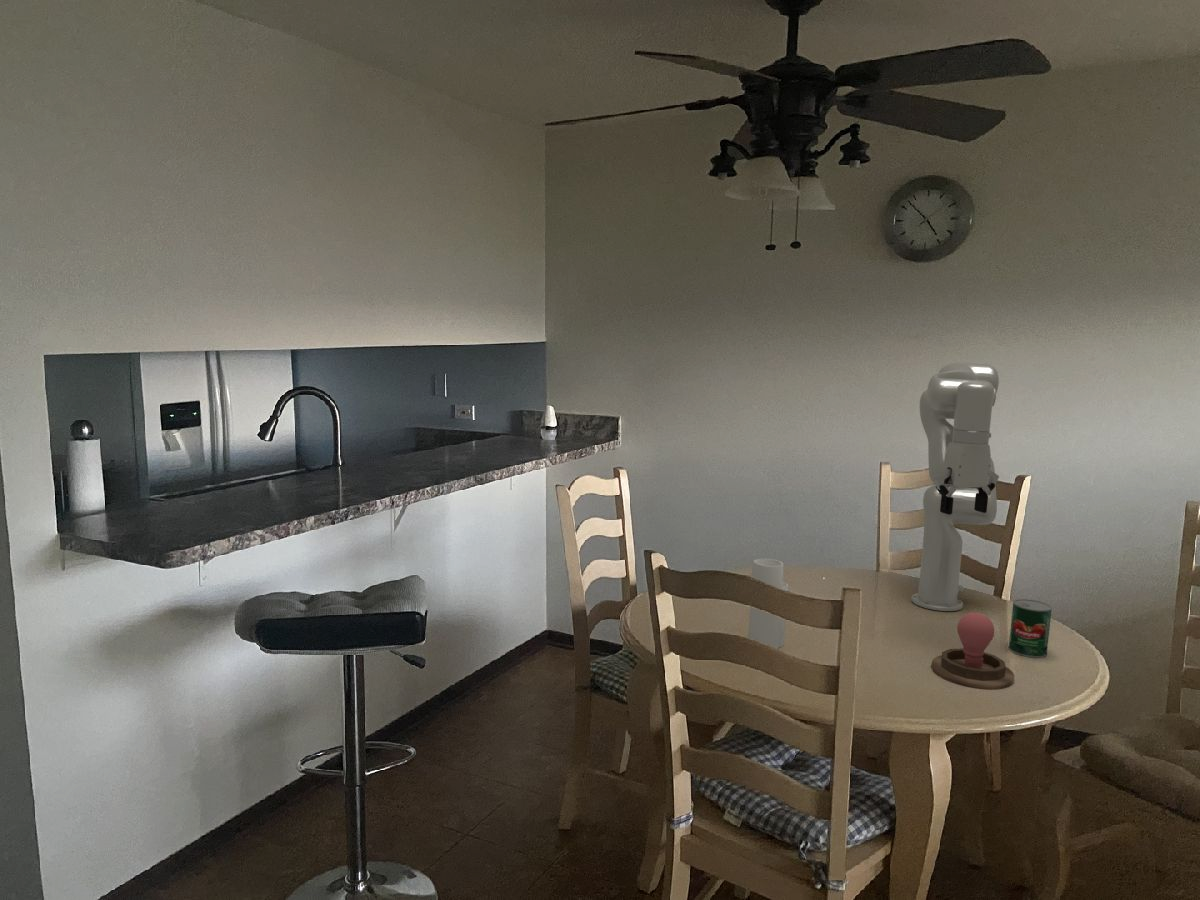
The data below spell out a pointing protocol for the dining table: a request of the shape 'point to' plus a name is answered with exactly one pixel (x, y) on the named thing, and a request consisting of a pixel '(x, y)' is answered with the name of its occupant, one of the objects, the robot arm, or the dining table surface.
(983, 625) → the light bulb
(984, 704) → the dining table surface
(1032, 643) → the canned tomato
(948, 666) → the holder
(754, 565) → the vase
